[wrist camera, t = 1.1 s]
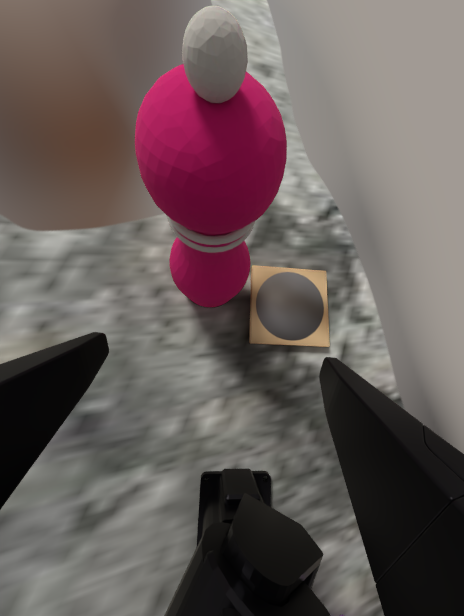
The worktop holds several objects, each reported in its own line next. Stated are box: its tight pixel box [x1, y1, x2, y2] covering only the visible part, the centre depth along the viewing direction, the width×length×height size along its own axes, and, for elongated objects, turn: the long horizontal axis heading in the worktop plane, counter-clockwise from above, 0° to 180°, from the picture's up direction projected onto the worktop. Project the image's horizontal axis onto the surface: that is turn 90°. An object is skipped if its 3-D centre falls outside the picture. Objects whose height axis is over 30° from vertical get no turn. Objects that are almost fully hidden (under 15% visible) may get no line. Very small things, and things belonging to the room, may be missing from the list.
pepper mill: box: [135, 6, 287, 307], centre depth 15 cm, size 7×7×20 cm
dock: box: [249, 265, 330, 347], centre depth 25 cm, size 8×8×1 cm
